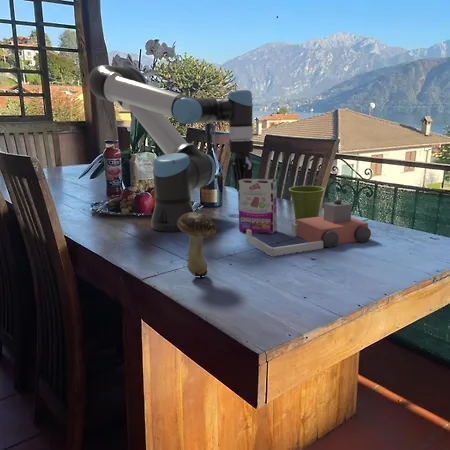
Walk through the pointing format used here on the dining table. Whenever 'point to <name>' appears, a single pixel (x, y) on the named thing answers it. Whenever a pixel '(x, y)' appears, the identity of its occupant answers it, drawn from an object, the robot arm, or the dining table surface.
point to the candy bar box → (258, 205)
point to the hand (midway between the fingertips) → (243, 211)
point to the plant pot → (306, 200)
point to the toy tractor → (321, 231)
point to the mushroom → (196, 239)
